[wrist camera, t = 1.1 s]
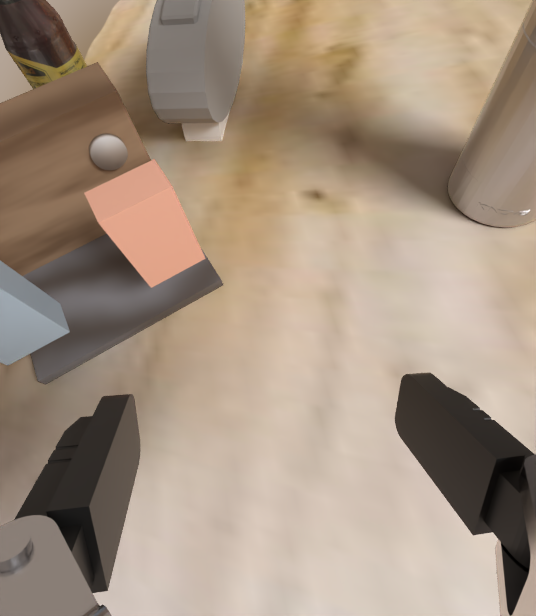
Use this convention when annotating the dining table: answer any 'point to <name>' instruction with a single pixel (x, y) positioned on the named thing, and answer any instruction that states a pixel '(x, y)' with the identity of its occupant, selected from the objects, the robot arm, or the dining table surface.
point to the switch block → (78, 217)
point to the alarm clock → (195, 63)
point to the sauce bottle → (38, 41)
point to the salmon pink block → (146, 222)
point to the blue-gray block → (26, 317)
